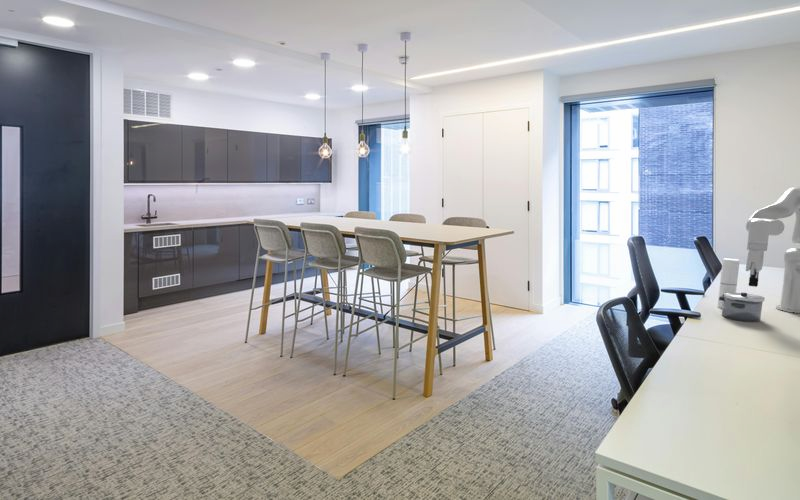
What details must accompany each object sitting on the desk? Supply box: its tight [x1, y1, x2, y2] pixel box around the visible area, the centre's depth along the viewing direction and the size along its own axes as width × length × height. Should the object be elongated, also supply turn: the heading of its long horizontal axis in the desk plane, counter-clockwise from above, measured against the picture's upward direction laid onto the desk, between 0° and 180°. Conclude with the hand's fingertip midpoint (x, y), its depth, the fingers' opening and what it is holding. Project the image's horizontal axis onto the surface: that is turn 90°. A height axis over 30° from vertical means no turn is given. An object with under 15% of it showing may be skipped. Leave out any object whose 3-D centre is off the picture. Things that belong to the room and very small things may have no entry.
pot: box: [718, 295, 763, 323], centre depth 232 cm, size 20×16×9 cm
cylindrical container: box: [717, 257, 741, 309], centre depth 250 cm, size 7×7×25 cm
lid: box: [723, 292, 765, 303], centre depth 230 cm, size 16×16×3 cm
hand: (753, 285), depth 228 cm, fingers closed
